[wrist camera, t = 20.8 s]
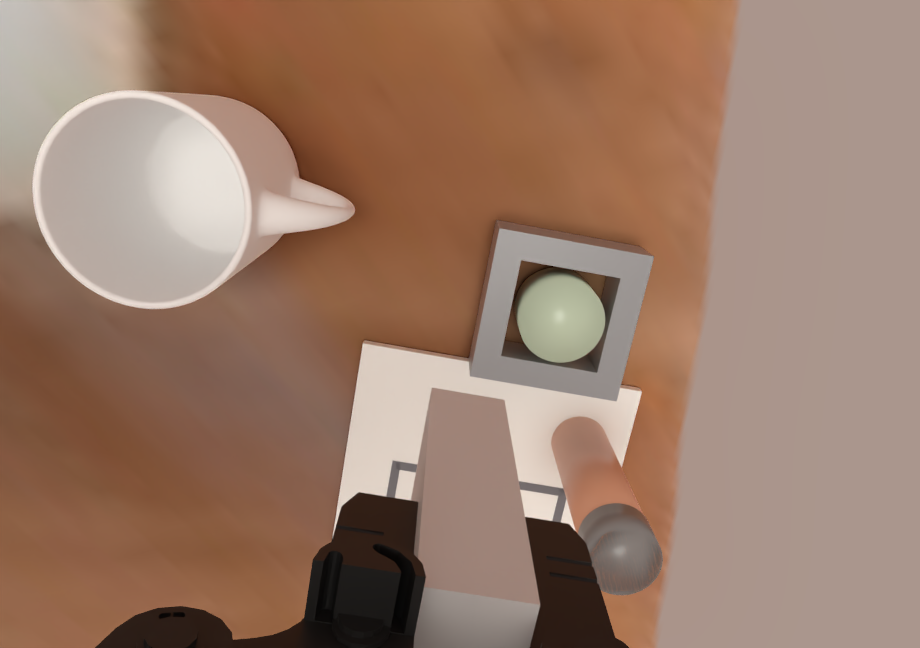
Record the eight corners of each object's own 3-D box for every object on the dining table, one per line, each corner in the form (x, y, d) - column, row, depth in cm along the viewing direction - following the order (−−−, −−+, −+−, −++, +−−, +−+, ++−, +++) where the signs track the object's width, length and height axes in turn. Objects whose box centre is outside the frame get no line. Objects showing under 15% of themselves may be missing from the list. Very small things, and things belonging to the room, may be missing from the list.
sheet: (332, 540, 46) (331, 546, 45) (364, 340, 42) (362, 343, 42) (588, 580, 47) (590, 587, 46) (639, 387, 43) (642, 392, 43)
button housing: (468, 358, 43) (470, 376, 40) (496, 219, 40) (499, 228, 38) (605, 382, 43) (616, 401, 40) (640, 246, 41) (654, 256, 38)
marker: (544, 462, 44) (576, 587, 32) (558, 410, 43) (596, 520, 31) (598, 472, 44) (649, 601, 32) (614, 421, 43) (672, 535, 32)
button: (506, 337, 42) (511, 354, 39) (523, 260, 40) (528, 272, 37) (584, 351, 42) (594, 369, 39) (602, 275, 41) (614, 287, 38)
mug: (358, 279, 41) (326, 335, 31) (138, 247, 41) (31, 293, 30) (376, 119, 39) (348, 122, 29) (143, 83, 38) (29, 73, 28)
